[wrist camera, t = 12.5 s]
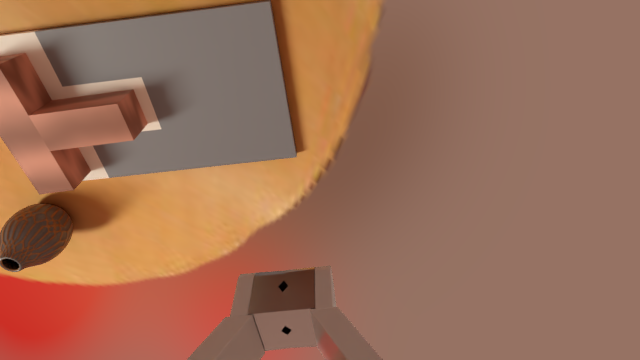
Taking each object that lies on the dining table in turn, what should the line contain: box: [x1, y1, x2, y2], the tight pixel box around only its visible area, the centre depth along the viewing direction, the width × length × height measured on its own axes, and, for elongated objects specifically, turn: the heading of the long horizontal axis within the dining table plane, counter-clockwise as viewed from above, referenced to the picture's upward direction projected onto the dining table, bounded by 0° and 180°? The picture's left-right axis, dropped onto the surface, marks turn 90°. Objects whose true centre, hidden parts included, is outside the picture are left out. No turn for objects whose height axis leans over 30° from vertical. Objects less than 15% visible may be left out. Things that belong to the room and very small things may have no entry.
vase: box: [0, 204, 73, 272], centre depth 46 cm, size 7×7×9 cm
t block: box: [0, 53, 148, 194], centre depth 39 cm, size 14×13×4 cm
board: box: [0, 0, 297, 181], centre depth 41 cm, size 17×32×1 cm, turn 96°
